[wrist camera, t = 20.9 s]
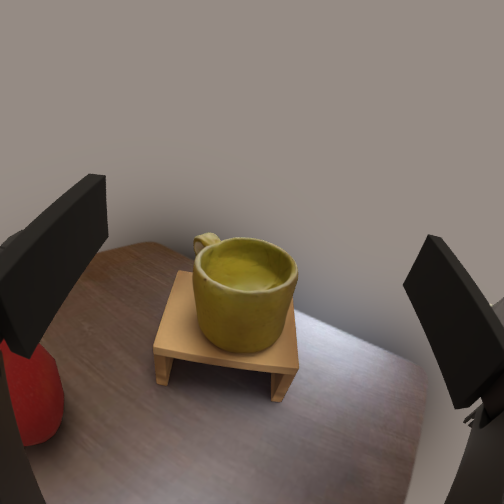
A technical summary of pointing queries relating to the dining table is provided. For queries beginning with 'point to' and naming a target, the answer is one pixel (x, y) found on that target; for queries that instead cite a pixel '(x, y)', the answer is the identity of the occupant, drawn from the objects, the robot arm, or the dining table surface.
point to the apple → (34, 393)
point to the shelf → (203, 351)
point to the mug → (242, 291)
